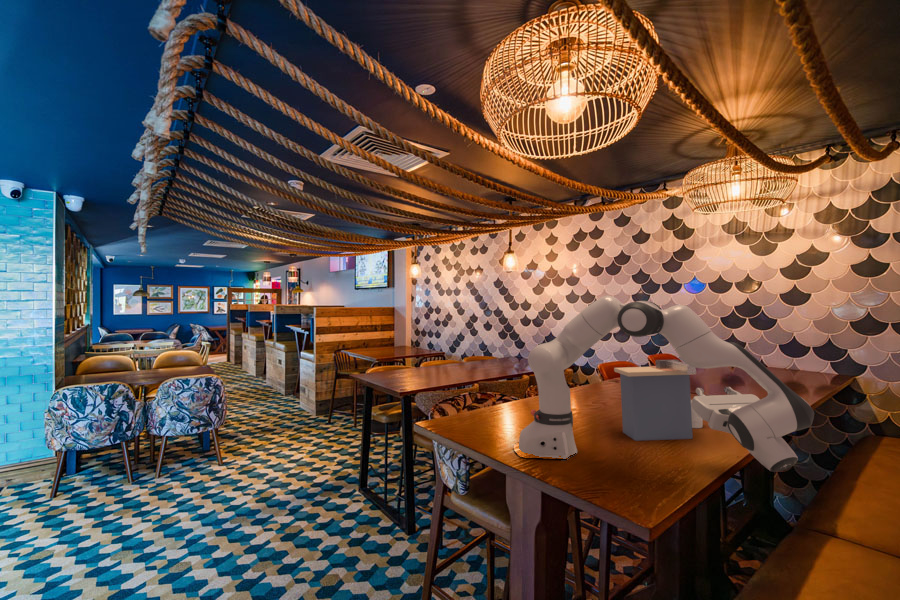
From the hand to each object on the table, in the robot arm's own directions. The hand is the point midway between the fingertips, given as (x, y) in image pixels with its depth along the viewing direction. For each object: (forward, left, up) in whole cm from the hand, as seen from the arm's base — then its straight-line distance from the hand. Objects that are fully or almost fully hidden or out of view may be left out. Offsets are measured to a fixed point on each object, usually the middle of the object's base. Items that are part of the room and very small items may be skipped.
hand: (712, 388), depth 124 cm
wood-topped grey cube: (-6, +24, -23) cm, 34 cm away
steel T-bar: (0, +18, +3) cm, 18 cm away
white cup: (+15, +34, -23) cm, 44 cm away
